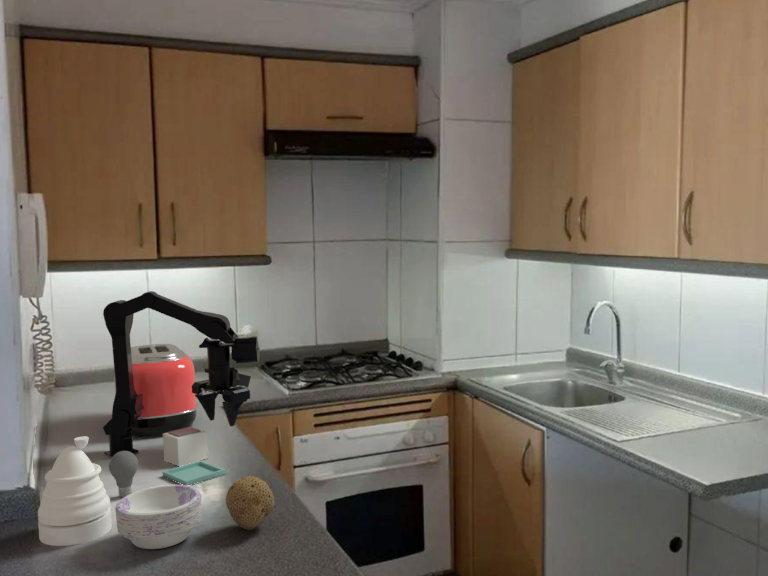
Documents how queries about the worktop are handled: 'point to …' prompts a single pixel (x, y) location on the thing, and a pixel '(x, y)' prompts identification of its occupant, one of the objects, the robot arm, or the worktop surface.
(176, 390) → the toaster
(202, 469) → the tray
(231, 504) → the natural sponge
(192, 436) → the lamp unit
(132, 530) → the paper bowls
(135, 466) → the light bulb
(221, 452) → the worktop surface
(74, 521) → the honey pot
